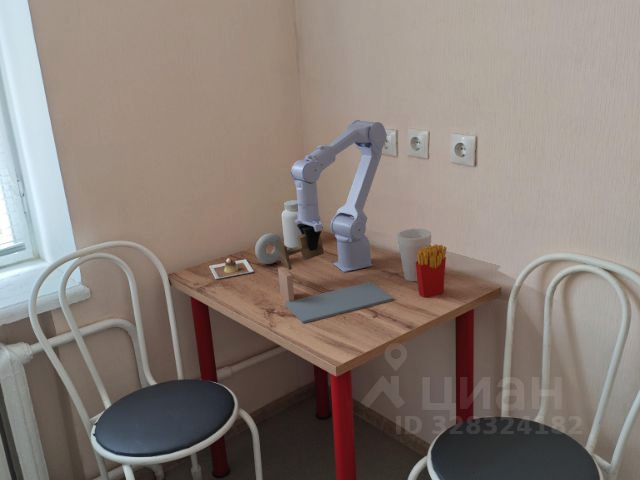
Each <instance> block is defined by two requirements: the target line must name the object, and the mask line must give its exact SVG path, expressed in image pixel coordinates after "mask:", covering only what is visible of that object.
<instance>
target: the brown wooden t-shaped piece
mask: <svg viewBox="0 0 640 480" xmlns="http://www.w3.org/2000/svg"><path fill="white" fill-rule="evenodd" d="M297 237H298V241H299V245H300V246H297V247H295V248H289V249H288V247H286V246H285V244H283V243H282V242H281V241H280V240H276V244H277V248H278V252H279V256H280V259H279V260H280V263H281V264H282V265H284V267H285V268H287V269H288V270H289V271H290V270H292V269H293V267H292V263H291V260H290V256H292V255H295V254H297V253H301V254H300V255H301V257H302V259H303V260H304V261H307V260H310V259H312V258H317V257H318V256H321V255H324V254H325V251H324V246H323V243H322V237H321V235H320V236H319V241H318V247H317V250H313V251H310V250H309V247H308V242H307V238H306V236H305V234H302V235H299V236H297Z"/></svg>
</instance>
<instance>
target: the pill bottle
mask: <svg viewBox="0 0 640 480" xmlns="http://www.w3.org/2000/svg"><path fill="white" fill-rule="evenodd" d="M283 205H284V206H283V207H284V210H283V211H282V212H281V223H282V233H283V242H284V245H285V246H286V247H287V249H288V248H289V249H292V248H295V247H297V246H300V245H299V241H298V237H297V236H299V235H302V234H301V231H300V230H299V228H298V227H297V224H301V223H296V222H295V220H296V219H298V218H297V212H298V202H297V199H296V200H295V199H293V200H292V199H291V200H287V201H285V202H284V203H283Z"/></svg>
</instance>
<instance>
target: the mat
mask: <svg viewBox="0 0 640 480" xmlns="http://www.w3.org/2000/svg"><path fill="white" fill-rule="evenodd" d="M391 301H394V297H393V296H391V294H389V293H387V292H386V291H384V290H383V289H382V288H380V287H379V286H378V285H376V284H375V283H374V282H372V281H368V282H363V283H360V284H357V285H352V286H347V287H344V288H339V289H336V290H332V291H327V292H323V293H319V294H315V295H311V296H310V295H309V296H307V297H302V298H298V299H294V301H289V302H287V301H286V302H284V305H285V307H287V308H288V309H289V311H290V312H291V313H292V314H293V315H294V316H295V317H296V318H297V319H298V321H300V322H301V323H302V324H306V323H309V322H313V321H317V320H320V319H326V318H329V317H332V316H336V315H341V314H345V313H348V312H352V311H356V310H360V309H363V308H368V307H373V306H375V305H380V304H383V303H387V302H391Z"/></svg>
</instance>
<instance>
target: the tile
mask: <svg viewBox="0 0 640 480" xmlns="http://www.w3.org/2000/svg"><path fill="white" fill-rule="evenodd" d="M277 273H278V284H279V291H280V292H279V293H280V296H281V297H282V298H283V299H284V300H285V301H286V302H289V301H294V300H295V294H294V292H295V291H294V283H293V275H292V274H291V273H290V272H289V271H288V270H287V269H286V267H284V266H281V267H278V268H277Z"/></svg>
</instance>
